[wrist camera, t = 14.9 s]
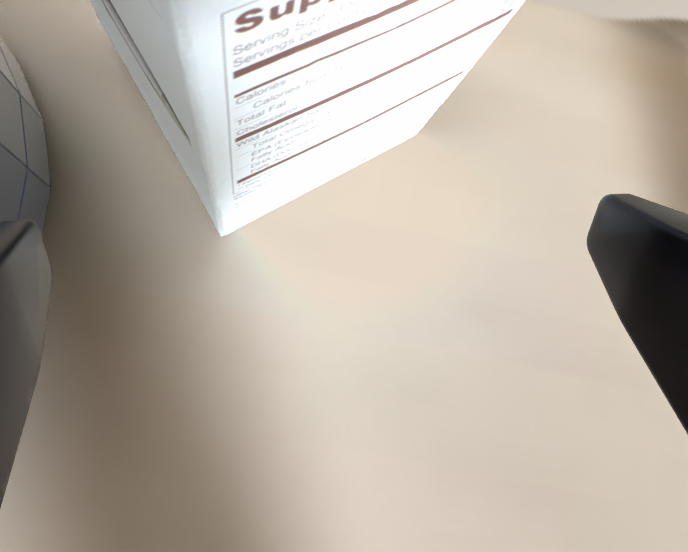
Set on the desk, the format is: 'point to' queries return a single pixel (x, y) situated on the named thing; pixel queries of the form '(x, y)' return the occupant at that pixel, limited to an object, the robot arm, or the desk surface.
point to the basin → (21, 147)
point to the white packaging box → (292, 84)
